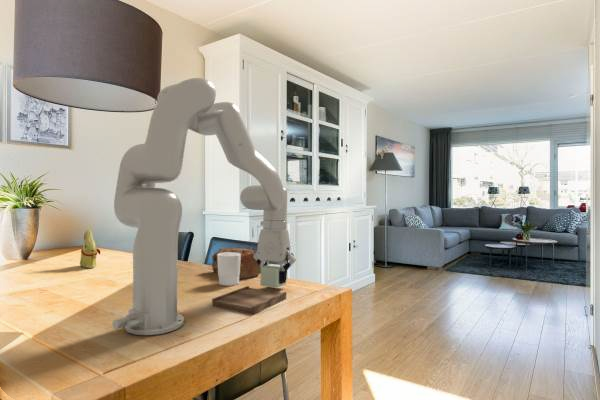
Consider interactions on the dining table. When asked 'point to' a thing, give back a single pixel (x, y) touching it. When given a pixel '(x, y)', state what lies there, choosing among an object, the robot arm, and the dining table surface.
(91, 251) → the asparagus bundle
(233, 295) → the board
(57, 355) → the dining table surface
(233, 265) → the white cup
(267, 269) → the sage block
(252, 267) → the bread
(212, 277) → the dining table surface
